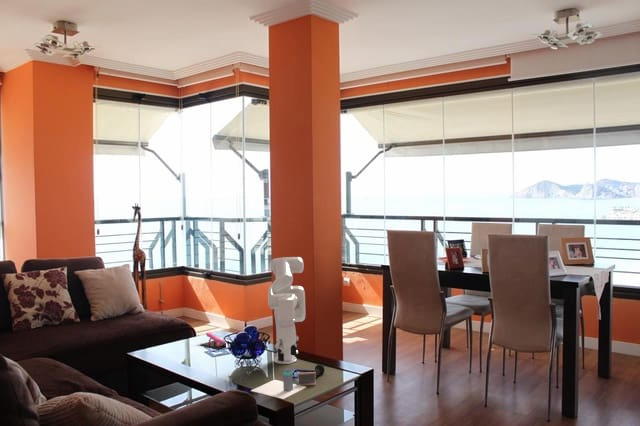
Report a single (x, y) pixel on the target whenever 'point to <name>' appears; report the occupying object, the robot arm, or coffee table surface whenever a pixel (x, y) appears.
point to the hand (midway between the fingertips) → (287, 358)
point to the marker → (288, 379)
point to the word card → (306, 378)
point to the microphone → (319, 369)
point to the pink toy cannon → (214, 342)
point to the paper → (277, 389)
